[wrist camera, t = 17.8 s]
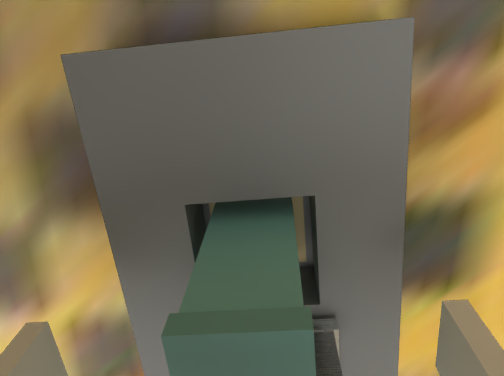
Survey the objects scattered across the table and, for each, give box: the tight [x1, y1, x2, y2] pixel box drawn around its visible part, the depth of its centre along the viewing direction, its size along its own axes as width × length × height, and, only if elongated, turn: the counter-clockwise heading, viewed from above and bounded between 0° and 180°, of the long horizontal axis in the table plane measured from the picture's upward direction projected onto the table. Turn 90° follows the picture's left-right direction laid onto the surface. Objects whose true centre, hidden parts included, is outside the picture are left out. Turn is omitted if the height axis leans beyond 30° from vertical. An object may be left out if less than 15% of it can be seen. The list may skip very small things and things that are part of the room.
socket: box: [61, 17, 414, 376], centre depth 21 cm, size 20×14×4 cm
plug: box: [161, 197, 316, 376], centre depth 17 cm, size 4×4×11 cm
